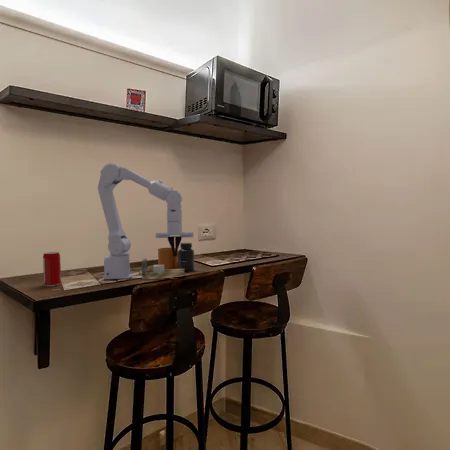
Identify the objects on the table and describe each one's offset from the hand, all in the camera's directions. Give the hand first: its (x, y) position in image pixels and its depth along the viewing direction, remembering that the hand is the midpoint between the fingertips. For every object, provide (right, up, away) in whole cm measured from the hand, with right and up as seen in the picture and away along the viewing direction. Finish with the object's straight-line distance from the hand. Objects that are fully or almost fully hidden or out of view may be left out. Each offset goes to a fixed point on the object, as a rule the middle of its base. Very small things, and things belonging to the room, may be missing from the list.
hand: (174, 256), depth 139 cm
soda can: (-42, -9, -12) cm, 45 cm away
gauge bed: (-4, -8, 0) cm, 9 cm away
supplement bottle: (+3, -8, +14) cm, 16 cm away
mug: (-5, -8, +22) cm, 24 cm away
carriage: (-6, -7, -1) cm, 9 cm away
